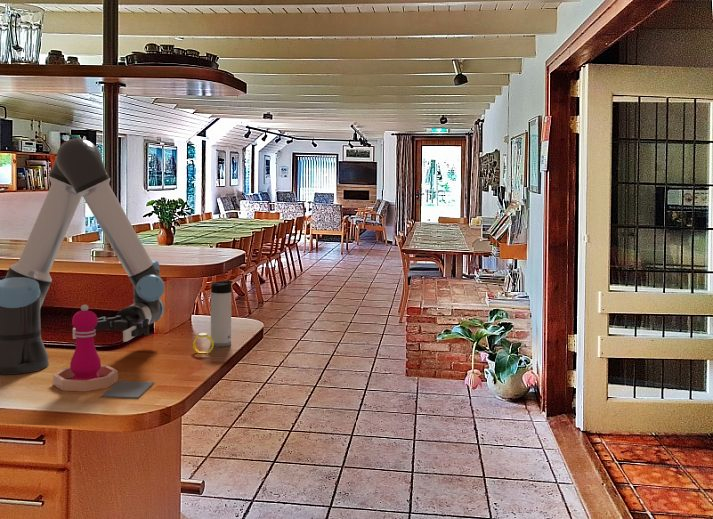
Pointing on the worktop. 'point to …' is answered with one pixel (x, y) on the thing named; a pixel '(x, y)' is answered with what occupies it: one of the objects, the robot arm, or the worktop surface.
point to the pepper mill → (85, 346)
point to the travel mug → (221, 313)
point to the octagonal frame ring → (85, 385)
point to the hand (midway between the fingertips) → (99, 335)
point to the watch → (203, 336)
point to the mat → (127, 389)
